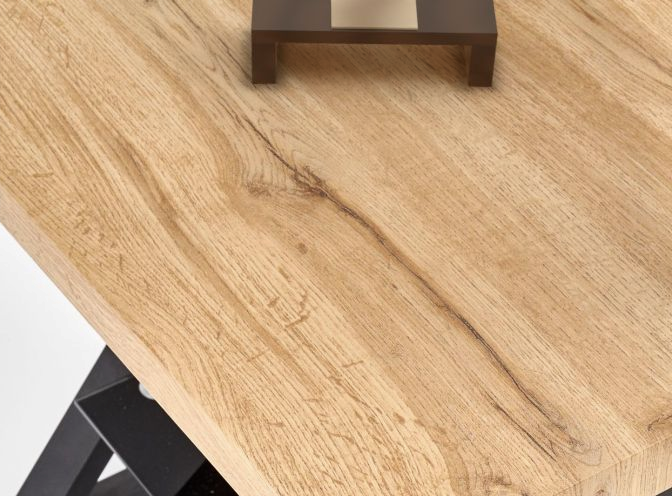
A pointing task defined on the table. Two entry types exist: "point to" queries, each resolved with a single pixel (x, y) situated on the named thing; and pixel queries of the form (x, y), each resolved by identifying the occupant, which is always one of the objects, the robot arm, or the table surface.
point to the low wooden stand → (376, 29)
